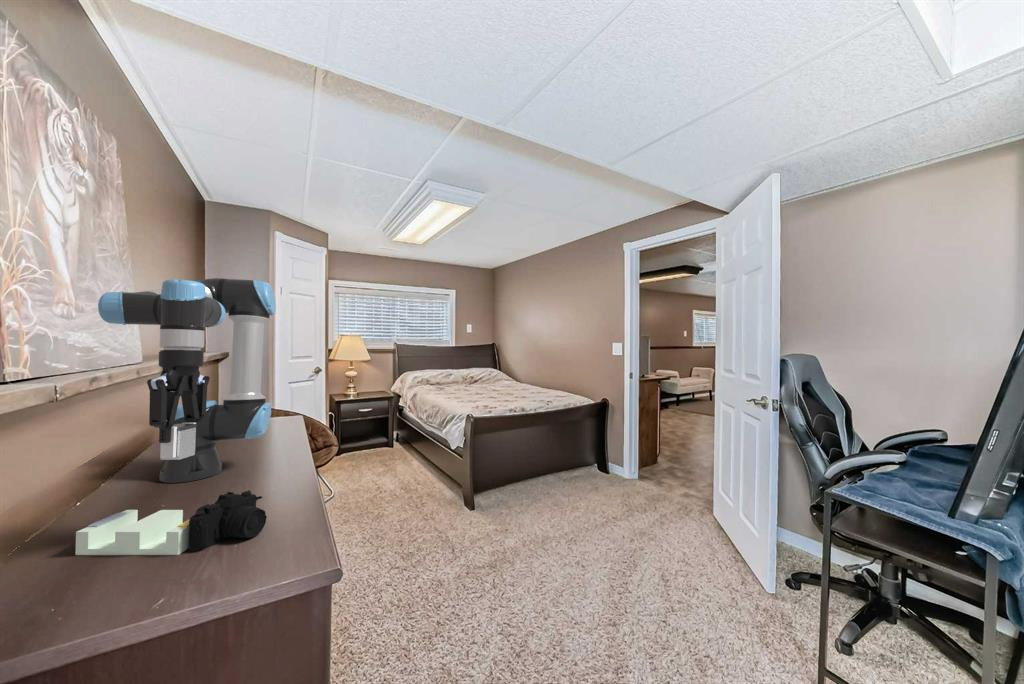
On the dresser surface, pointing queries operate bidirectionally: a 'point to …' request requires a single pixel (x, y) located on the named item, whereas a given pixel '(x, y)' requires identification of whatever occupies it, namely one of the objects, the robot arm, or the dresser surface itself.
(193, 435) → the plug
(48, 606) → the dresser surface
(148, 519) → the socket block
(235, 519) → the film camera
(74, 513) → the dresser surface
